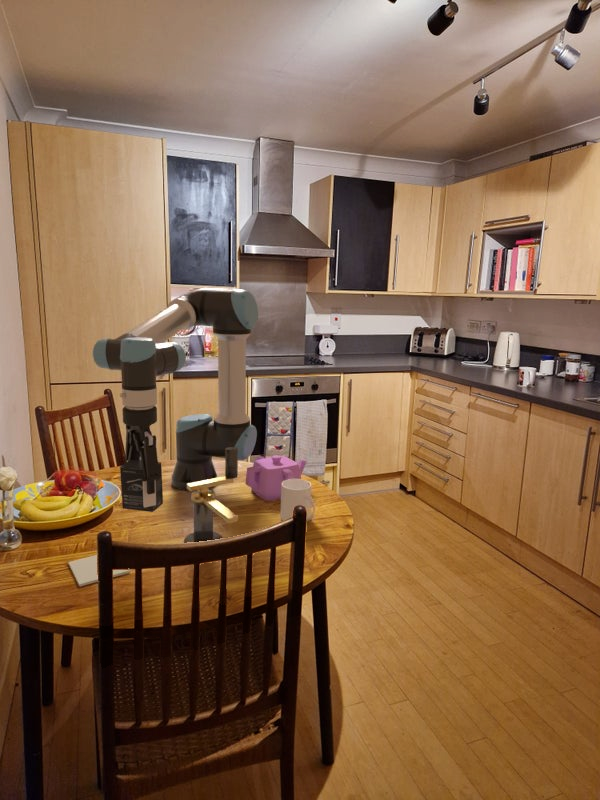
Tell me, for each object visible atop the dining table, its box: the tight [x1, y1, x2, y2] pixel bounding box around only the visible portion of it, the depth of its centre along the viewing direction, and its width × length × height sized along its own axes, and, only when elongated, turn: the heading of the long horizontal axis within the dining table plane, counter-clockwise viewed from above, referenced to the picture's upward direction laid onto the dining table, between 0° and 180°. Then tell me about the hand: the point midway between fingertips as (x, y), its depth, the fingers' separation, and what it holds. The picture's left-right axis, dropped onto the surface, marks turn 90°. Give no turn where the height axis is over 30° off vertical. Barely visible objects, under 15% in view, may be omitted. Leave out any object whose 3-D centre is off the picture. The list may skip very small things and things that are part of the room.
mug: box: [280, 478, 316, 522], centre depth 148 cm, size 9×12×11 cm
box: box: [119, 460, 164, 513], centre depth 122 cm, size 8×6×11 cm
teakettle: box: [245, 455, 307, 502], centre depth 168 cm, size 17×17×12 cm
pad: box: [68, 554, 131, 588], centre depth 120 cm, size 11×11×1 cm
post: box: [183, 501, 224, 544], centre depth 133 cm, size 10×10×12 cm
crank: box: [187, 447, 239, 524], centre depth 127 cm, size 14×19×12 cm
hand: (142, 498), depth 122 cm, fingers closed on box, 9 cm apart
